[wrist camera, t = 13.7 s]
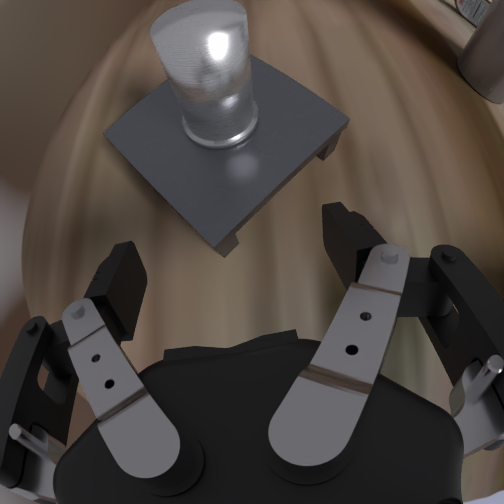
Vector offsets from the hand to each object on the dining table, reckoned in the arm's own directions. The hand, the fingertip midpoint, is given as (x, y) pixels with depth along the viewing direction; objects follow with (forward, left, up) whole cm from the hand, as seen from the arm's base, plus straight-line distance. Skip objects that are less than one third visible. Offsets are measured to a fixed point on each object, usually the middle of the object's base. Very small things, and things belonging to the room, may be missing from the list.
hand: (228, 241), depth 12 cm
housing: (-7, -9, -6) cm, 13 cm away
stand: (-7, -9, -11) cm, 16 cm away
